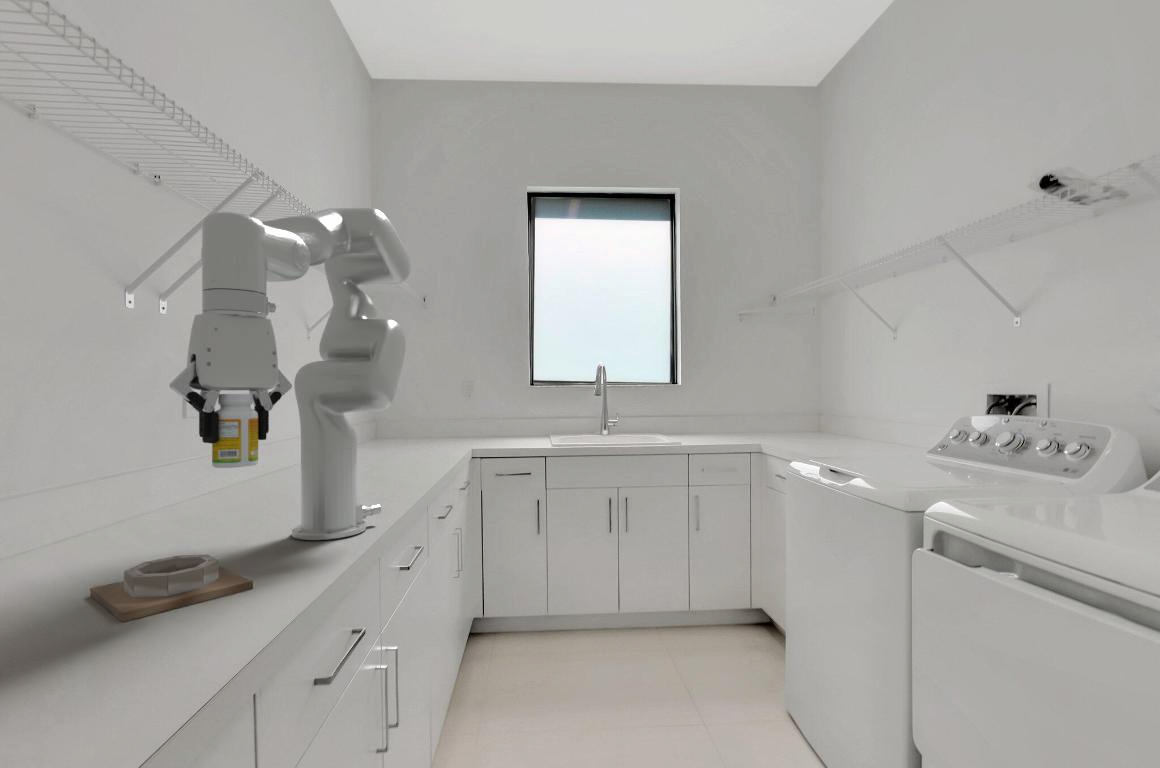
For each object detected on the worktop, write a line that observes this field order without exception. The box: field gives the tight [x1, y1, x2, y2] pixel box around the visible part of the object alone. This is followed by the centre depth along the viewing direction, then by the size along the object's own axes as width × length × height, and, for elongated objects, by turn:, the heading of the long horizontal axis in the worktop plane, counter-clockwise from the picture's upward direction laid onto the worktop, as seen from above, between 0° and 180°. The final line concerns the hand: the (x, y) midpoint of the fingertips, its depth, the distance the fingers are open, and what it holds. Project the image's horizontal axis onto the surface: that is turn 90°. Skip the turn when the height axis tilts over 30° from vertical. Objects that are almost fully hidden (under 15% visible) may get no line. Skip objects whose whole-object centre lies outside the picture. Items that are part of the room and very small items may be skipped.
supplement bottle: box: [211, 393, 259, 469], centre depth 79 cm, size 5×5×10 cm
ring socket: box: [89, 554, 254, 623], centre depth 76 cm, size 14×14×4 cm
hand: (235, 439), depth 79 cm, fingers closed on supplement bottle, 5 cm apart
